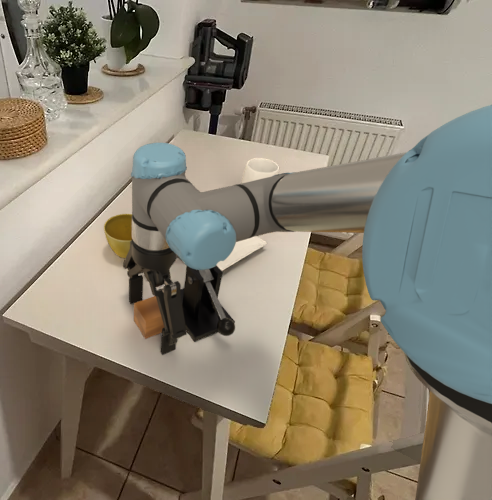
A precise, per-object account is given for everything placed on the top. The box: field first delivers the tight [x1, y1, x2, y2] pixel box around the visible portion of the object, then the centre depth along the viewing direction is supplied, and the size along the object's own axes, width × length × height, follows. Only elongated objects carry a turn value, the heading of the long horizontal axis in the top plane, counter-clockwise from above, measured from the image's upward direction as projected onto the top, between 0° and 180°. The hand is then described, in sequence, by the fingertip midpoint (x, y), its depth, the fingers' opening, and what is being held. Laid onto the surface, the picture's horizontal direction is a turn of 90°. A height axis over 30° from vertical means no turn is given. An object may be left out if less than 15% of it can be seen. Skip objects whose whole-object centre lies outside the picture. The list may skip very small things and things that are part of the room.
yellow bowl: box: [103, 213, 132, 259], centre depth 97 cm, size 10×10×7 cm
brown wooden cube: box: [133, 295, 164, 340], centre depth 81 cm, size 5×5×5 cm
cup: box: [240, 157, 281, 184], centre depth 107 cm, size 8×8×14 cm
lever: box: [197, 269, 236, 337], centre depth 78 cm, size 13×3×3 cm
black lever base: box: [180, 265, 236, 342], centre depth 82 cm, size 12×9×12 cm
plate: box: [217, 236, 268, 272], centre depth 101 cm, size 19×19×2 cm
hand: (150, 324), depth 83 cm, fingers open, 13 cm apart
